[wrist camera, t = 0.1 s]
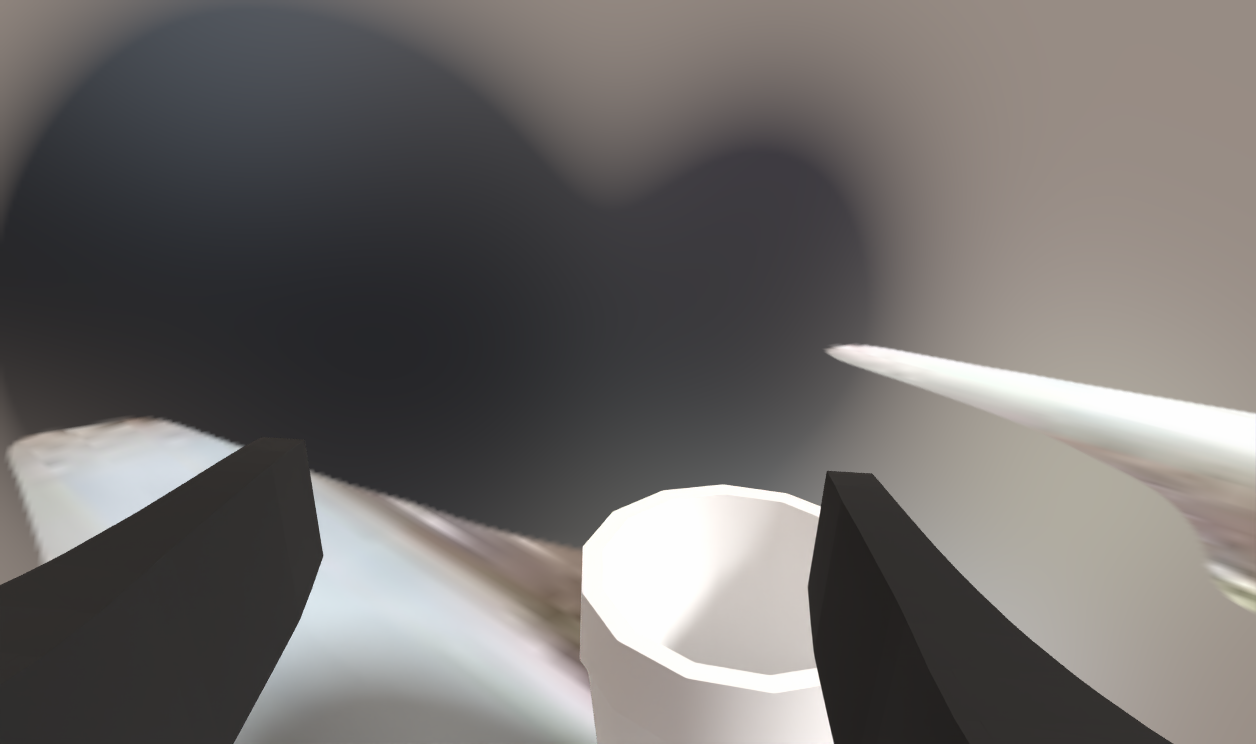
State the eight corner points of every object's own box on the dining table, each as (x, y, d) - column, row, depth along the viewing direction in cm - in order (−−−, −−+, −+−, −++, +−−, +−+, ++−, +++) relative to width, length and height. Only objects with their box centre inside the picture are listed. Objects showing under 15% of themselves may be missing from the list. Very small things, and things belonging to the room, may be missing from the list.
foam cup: (529, 823, 33) (531, 522, 28) (740, 739, 37) (777, 463, 32) (657, 1087, 25) (692, 743, 20) (904, 945, 30) (989, 628, 24)
